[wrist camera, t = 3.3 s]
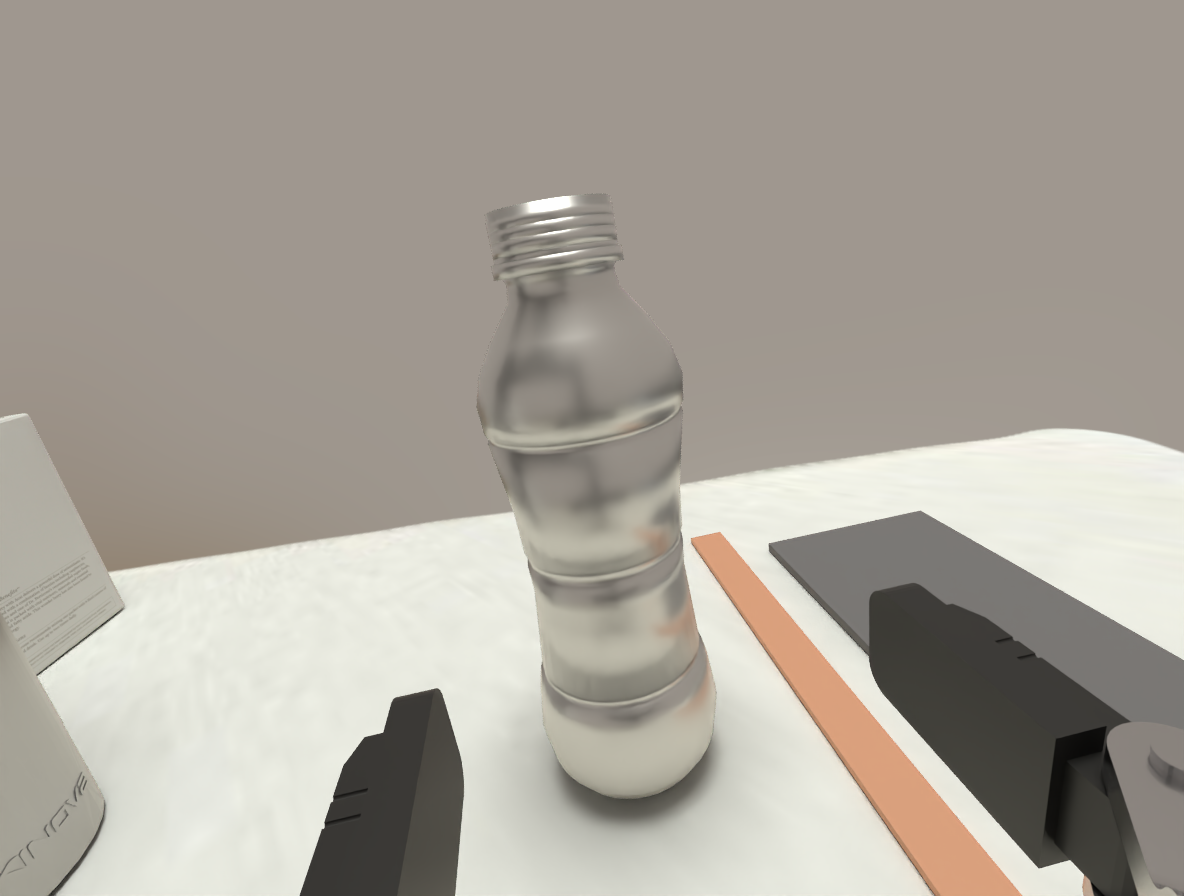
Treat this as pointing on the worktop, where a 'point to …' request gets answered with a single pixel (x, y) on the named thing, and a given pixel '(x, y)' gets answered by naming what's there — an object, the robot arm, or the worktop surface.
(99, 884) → the worktop surface
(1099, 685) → the mat
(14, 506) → the supplement box
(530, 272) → the plastic bottle
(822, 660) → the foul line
